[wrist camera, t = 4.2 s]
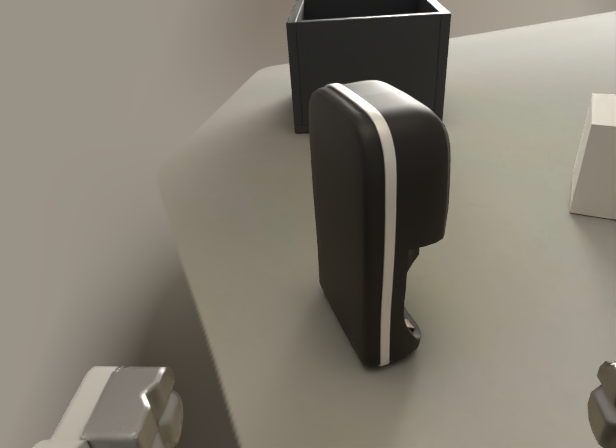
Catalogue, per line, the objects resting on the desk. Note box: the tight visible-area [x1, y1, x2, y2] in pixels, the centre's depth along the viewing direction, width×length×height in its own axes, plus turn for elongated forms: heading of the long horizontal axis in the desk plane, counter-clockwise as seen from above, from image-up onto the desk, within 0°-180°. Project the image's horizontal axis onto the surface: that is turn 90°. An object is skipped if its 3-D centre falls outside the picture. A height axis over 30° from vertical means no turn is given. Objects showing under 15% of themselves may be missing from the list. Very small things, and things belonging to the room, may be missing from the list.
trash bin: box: [286, 0, 451, 133], centre depth 49 cm, size 14×14×10 cm
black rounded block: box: [309, 80, 451, 367], centre depth 22 cm, size 7×4×11 cm, turn 18°
